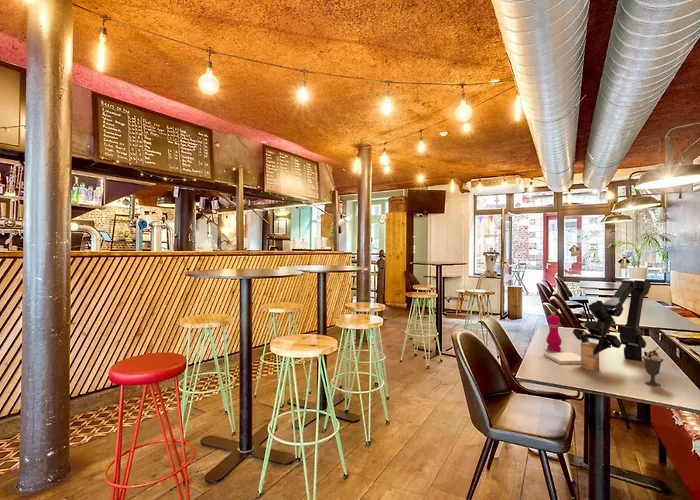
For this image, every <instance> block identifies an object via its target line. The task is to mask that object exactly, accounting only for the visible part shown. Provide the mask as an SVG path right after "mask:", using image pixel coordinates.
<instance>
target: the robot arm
mask: <svg viewBox="0 0 700 500" xmlns="http://www.w3.org/2000/svg"><path fill="white" fill-rule="evenodd" d="M651 286H652V284H651V282H650V281H649V280H648V279H645V278H631V279H622V280H621V284H620V285H619V286H618V289H617V290H616V291H615V292H614V294H613V296H612V297H611V298H609V299H607V300H606V301H605V302H603V301H602V300H598V299H597V300H596V301H595V302H591V303H590V304H589V305H588V310H589V311H590V313H591V314H592V316H593V317H594V318H595V319H597V320H596V321H593V320H592V321H591V320H585V322H584V326H583V327H584V328H585V329H587V332H588V333H587V332H586V331H585V330H584V329H583V328H582V329H581V328H574V329H573V331H572V334H573V335H574V336H575V338H576V339H577V340H579V341H581V343H583V342H590V340H589V339H591V340H595V341H598V343H596V344H597V346H596V348H595V350H594V352H593V353H594V354H597V353H599V354H600V353H601V352H603V351H604V350H607V349H611V348H616V349H620V348H621V346H622V345H624V347H623V357H624V358H625V359H626V360H634V361H641V362H642V361H643V358H642V357H643V352H642V351H643V350H642V349H645V348H646V347H647V341H646V340H645V338H644V337H643V332H642V330H641V328H640V322H641V315H642V309H643V302H644V298H645V296H647V295H648V294H649V292H650V289H651ZM629 296H630V300H629V306H628V311H627V317H626V318H627V319H626V324H625V325H624V326H623V325H622V326H621V327H620V331H619V338H618V336H617V335H615V334H614V335H613V334H610V333H611V332H610V328H611V327H612V325H614V326H615V325H616V321H615V318H614V317H620V316H621V315H622V314H623V311H624V307H623V305H624V303H625V302H626V300H627V299H628V297H629Z"/></svg>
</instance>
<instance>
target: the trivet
mask: <svg viewBox="0 0 700 500" xmlns="http://www.w3.org/2000/svg"><path fill="white" fill-rule="evenodd" d="M543 356H544V357H545V358H548V359H550V360H551V361H553V362H556V363H557V364H559V365H581V355H579V354H577V353H574V352H571V351H570V352H544V353H543Z"/></svg>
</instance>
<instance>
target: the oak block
mask: <svg viewBox="0 0 700 500" xmlns="http://www.w3.org/2000/svg"><path fill="white" fill-rule="evenodd" d="M597 344H598V343H595V342H591V341H589V342H583V343H582V342H580V356H581V364H580V367H581V368H583V369H587V370H590V371H595V370H599V369H600V352H599V353H597V354H594V353H593V352H594V350H595V348H596V346H597Z"/></svg>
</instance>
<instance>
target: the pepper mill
mask: <svg viewBox="0 0 700 500" xmlns="http://www.w3.org/2000/svg"><path fill="white" fill-rule="evenodd" d="M546 319H547V323H548V324H547V326H548V327H549V329H548V330H549V331H548V334H547V337H546V339H545V341H546V343H547V346H546V347H547V350H549V351H551V352H552V351H553V352H554V351H555V352H559V351H561V350H562V348H561V345H562V343H563V342H562V338H561V336H560V334H559V328H560V322H561V319H560V317H559V316H558V315H556V312H555V311H552V312H551V314H550V315H549V316H547V318H546Z"/></svg>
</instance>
